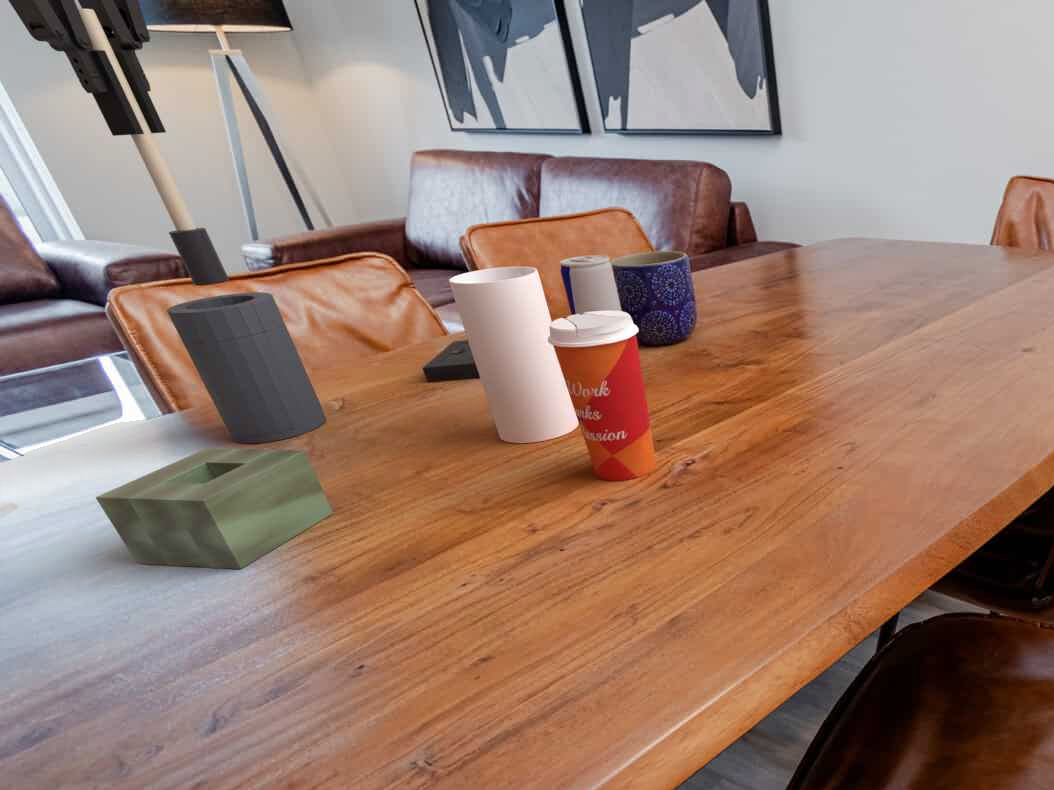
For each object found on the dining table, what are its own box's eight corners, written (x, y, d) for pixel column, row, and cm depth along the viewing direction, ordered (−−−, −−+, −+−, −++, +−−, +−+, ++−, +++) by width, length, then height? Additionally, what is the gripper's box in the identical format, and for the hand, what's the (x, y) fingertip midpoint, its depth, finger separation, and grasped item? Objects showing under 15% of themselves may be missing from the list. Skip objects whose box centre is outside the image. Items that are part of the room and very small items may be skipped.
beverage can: (603, 381, 103) (572, 254, 95) (645, 381, 103) (617, 253, 95) (583, 395, 99) (548, 263, 91) (626, 395, 98) (596, 262, 90)
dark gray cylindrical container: (212, 443, 91) (143, 313, 83) (278, 414, 99) (220, 292, 91) (283, 444, 89) (220, 312, 82) (344, 415, 97) (292, 291, 90)
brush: (187, 285, 84) (51, 9, 72) (213, 279, 86) (86, 11, 74) (210, 285, 83) (77, 7, 71) (236, 279, 86) (112, 9, 73)
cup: (558, 411, 94) (517, 263, 86) (592, 427, 89) (551, 271, 81) (487, 431, 90) (436, 277, 81) (518, 449, 85) (466, 287, 76)
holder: (136, 564, 67) (94, 497, 64) (239, 509, 75) (206, 448, 72) (241, 569, 65) (203, 500, 62) (334, 513, 73) (304, 450, 70)
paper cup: (569, 472, 79) (527, 322, 71) (639, 447, 83) (606, 305, 76) (612, 493, 74) (572, 335, 67) (683, 465, 79) (653, 315, 71)
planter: (632, 333, 124) (615, 254, 118) (705, 327, 124) (691, 248, 118) (619, 353, 115) (599, 268, 109) (698, 346, 115) (683, 262, 109)
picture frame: (584, 343, 120) (457, 354, 118) (580, 327, 119) (452, 338, 117) (567, 369, 109) (427, 382, 107) (562, 352, 107) (420, 365, 106)
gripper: (-94, -242, 58) (96, 137, 71) (105, -189, 70) (238, 127, 83) (-174, -229, 60) (27, 141, 72) (35, -179, 72) (176, 131, 84)
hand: (139, 133), depth 78 cm, fingers closed on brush, 2 cm apart
